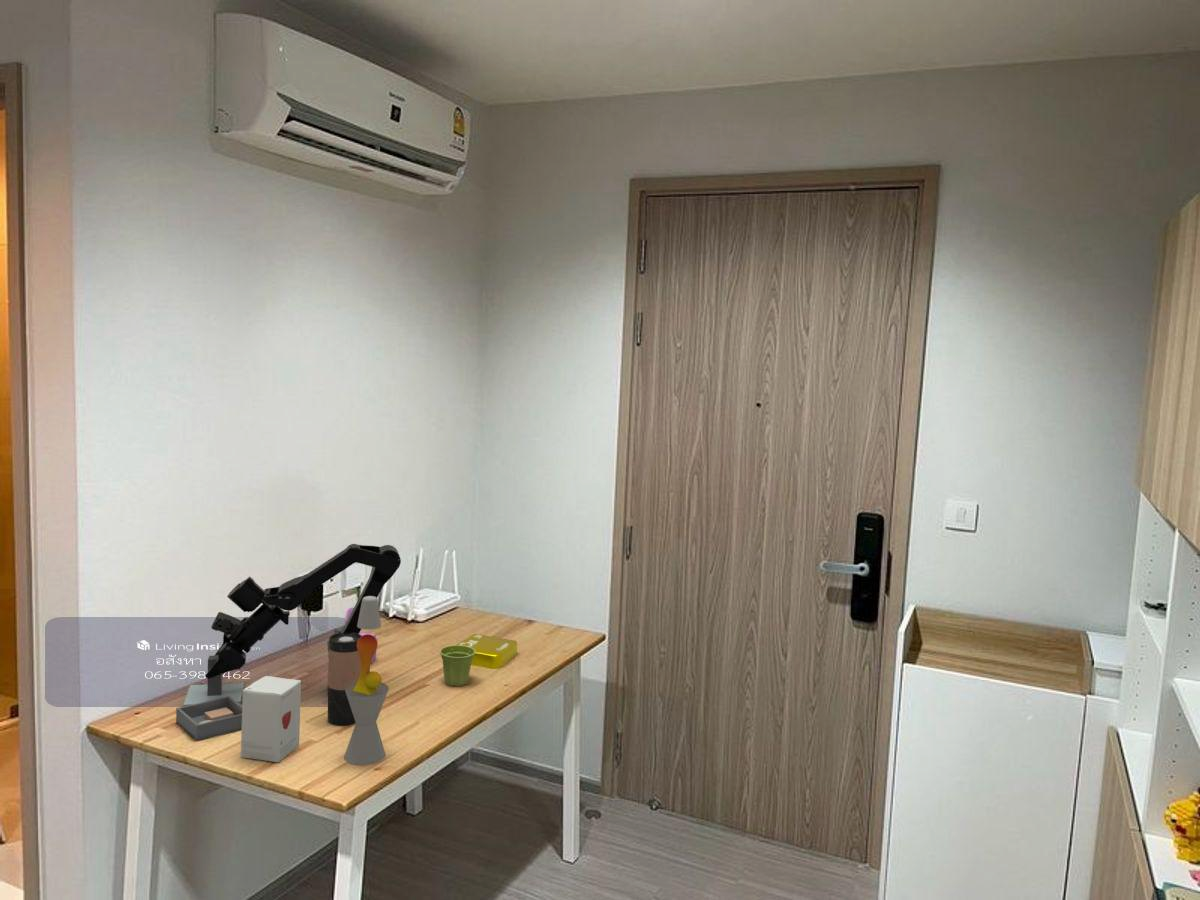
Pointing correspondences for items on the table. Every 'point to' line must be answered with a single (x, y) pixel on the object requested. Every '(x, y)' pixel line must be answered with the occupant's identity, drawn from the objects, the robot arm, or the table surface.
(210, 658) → the slate lid
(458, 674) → the plant pot
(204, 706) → the storage box
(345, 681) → the travel mug
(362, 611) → the lava lamp
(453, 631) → the table surface
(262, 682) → the supplement box
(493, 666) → the element tile
